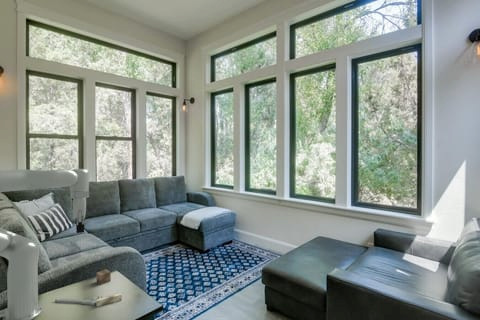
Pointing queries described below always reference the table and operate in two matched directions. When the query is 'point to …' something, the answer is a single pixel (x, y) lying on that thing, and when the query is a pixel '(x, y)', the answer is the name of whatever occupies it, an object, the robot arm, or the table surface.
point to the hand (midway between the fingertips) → (80, 232)
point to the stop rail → (109, 299)
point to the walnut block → (103, 277)
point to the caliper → (79, 301)
